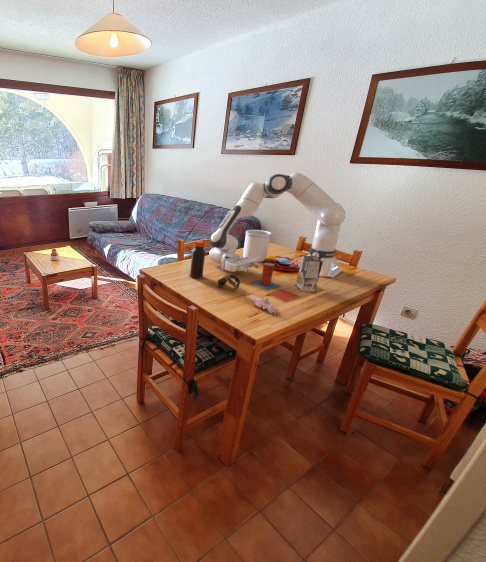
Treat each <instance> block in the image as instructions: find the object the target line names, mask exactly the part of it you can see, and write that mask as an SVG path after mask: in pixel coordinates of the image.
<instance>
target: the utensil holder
mask: <svg viewBox="0 0 486 562" xmlns="http://www.w3.org/2000/svg"><path fill="white" fill-rule="evenodd" d="M271 236H272V232H270V231H268V230H261V229H248V230H245V237H244V243H243V252H242V253H243V254H242V258H244V257H249V258H253V259H256V260H257V263H259V262H264V259H265V258H267V256H268V250H269V244H270V239H271ZM265 260H266V259H265Z"/></svg>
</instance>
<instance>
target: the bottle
mask: <svg viewBox="0 0 486 562" xmlns="http://www.w3.org/2000/svg"><path fill="white" fill-rule="evenodd" d="M205 256H206V250H205V241H203V240H195V241H194V248H193V249H192V250H191V262H190V269H189V270H190V271H189V277H190V278H192V279H202V278H203V275H204V265H205V258H206V257H205Z"/></svg>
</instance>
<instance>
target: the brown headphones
mask: <svg viewBox="0 0 486 562" xmlns="http://www.w3.org/2000/svg"><path fill="white" fill-rule="evenodd" d="M233 279H234V280H233ZM227 283H228V284H230V285H231V286H232V287H233V288H232V291H233V292H236V291H237V290H239V288H240V285H241V280H240V279H239V278H238V277H237V276H236V275H234V274H232V273H229V274H227V275H224V276H223V277H221V278H219V279H218V280H217V286H218V287H217V288H220V289H223V288H224V286H225V285H226V284H227Z"/></svg>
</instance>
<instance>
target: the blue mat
mask: <svg viewBox="0 0 486 562" xmlns="http://www.w3.org/2000/svg"><path fill="white" fill-rule="evenodd" d="M260 282H261V279H259V280H256V281H251V284H253V285H255V286H257V287H260V288H263V289H265V290H270V289H275V288H277V287H280V286H281V285H279V284H277V283H274V282H272V281H271V284H270V286H264V285H261V284H260Z"/></svg>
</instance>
